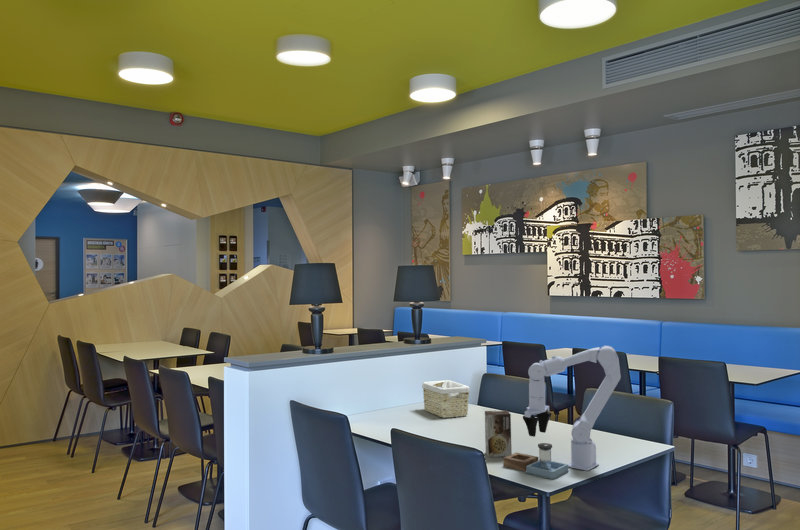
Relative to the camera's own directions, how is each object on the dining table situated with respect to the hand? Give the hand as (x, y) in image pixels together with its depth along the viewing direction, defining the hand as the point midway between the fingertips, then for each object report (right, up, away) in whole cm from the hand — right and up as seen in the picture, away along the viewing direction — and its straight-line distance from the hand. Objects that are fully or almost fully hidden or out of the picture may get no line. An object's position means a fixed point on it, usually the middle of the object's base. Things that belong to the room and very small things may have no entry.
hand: (537, 434), depth 227 cm
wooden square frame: (-7, -10, -3) cm, 13 cm away
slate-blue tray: (+1, -10, -12) cm, 15 cm away
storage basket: (-27, -13, +85) cm, 90 cm away
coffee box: (-13, -11, +11) cm, 20 cm away
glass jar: (0, -10, -11) cm, 15 cm away
